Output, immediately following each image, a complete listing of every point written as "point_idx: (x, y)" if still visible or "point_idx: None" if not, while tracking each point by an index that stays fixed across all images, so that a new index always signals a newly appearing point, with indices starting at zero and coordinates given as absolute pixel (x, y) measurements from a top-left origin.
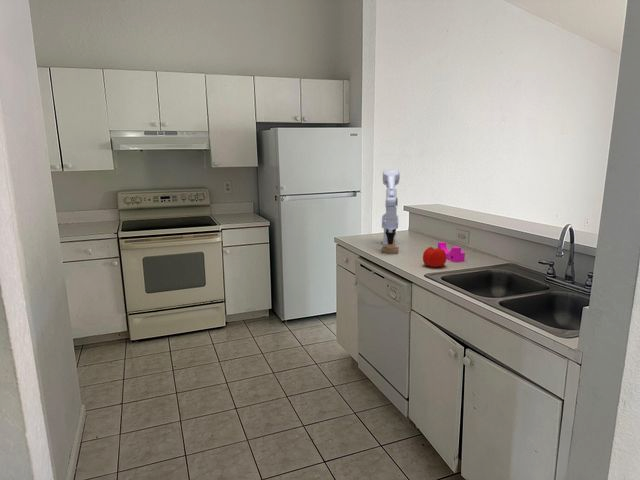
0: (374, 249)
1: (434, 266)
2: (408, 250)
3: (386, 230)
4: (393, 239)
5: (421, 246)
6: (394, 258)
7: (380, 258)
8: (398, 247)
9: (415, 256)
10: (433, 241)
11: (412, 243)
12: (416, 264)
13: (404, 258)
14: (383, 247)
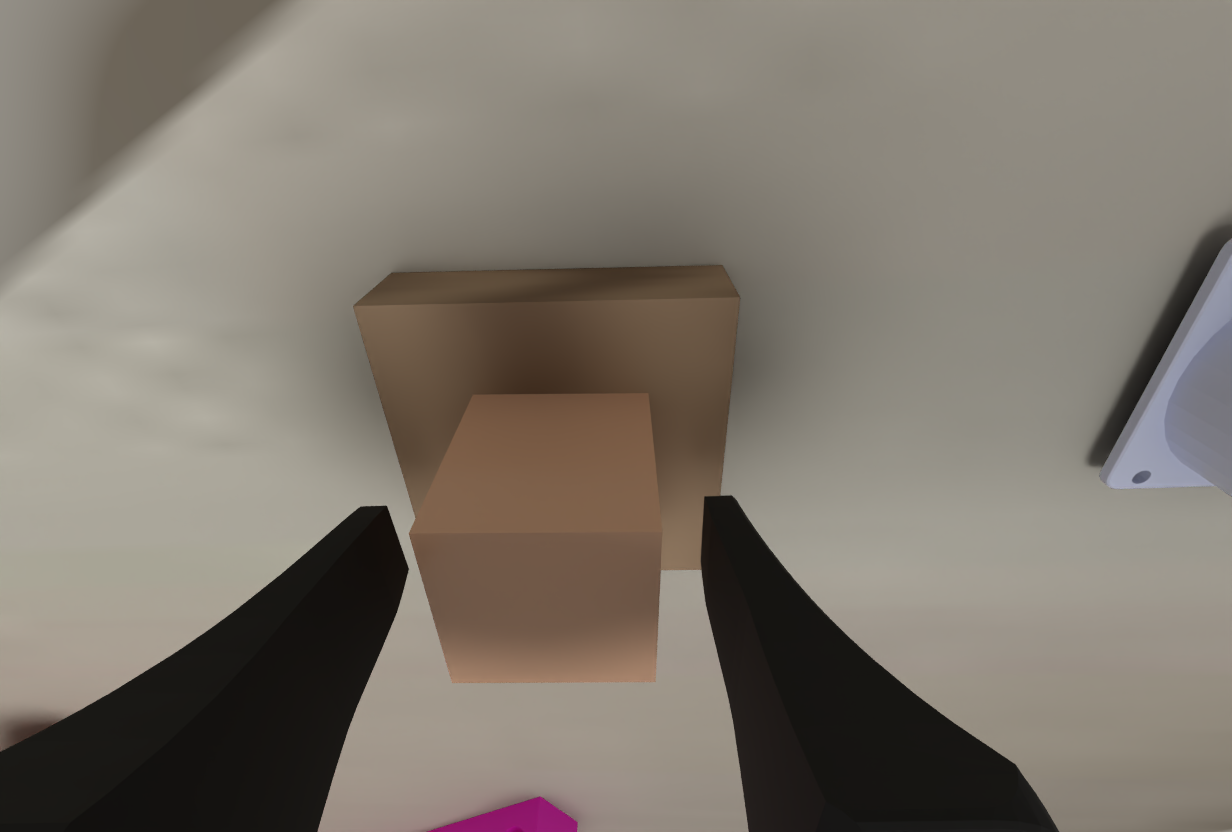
0: (809, 51)
1: None
2: None
3: (816, 780)
4: (534, 658)
5: (972, 714)
6: (185, 486)
7: (26, 280)
8: None
9: (429, 673)
10: (1211, 788)
11: (1191, 645)
12: (65, 682)
13: None
14: (587, 325)
